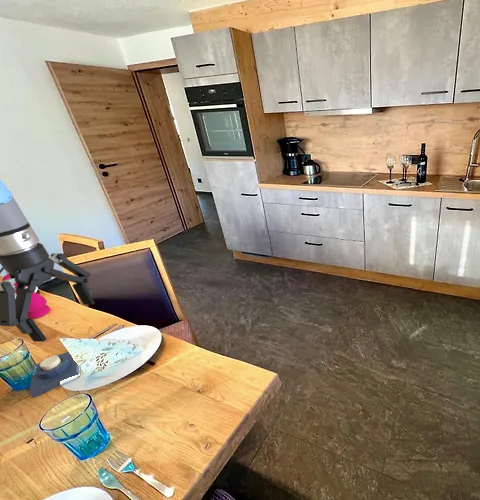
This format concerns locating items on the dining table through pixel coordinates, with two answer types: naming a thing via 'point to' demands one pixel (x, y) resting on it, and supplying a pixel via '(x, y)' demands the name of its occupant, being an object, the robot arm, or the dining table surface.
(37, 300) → the pepper mill
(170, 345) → the dining table surface
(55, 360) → the beige round button
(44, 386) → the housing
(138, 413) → the dining table surface
